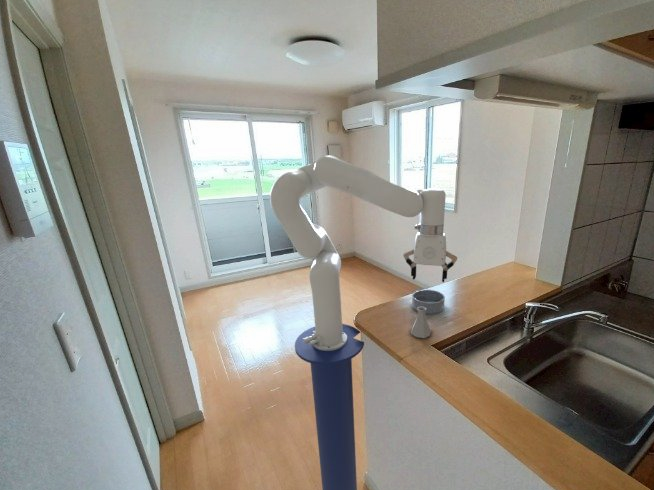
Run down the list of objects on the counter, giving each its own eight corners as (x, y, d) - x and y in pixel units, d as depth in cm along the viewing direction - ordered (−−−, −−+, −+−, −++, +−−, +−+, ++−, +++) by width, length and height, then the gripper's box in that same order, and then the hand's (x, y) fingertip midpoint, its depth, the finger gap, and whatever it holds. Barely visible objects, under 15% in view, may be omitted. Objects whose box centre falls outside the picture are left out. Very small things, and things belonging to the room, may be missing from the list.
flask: (407, 334, 112) (407, 309, 109) (416, 326, 118) (417, 302, 114) (425, 340, 108) (426, 315, 105) (433, 331, 114) (435, 307, 110)
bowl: (427, 317, 124) (428, 306, 122) (405, 305, 134) (405, 294, 132) (450, 308, 131) (451, 297, 129) (427, 297, 141) (428, 287, 140)
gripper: (402, 230, 98) (401, 281, 103) (459, 233, 93) (455, 286, 99) (406, 225, 104) (405, 273, 110) (459, 227, 100) (455, 277, 106)
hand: (428, 279), depth 104 cm, fingers open, 9 cm apart
